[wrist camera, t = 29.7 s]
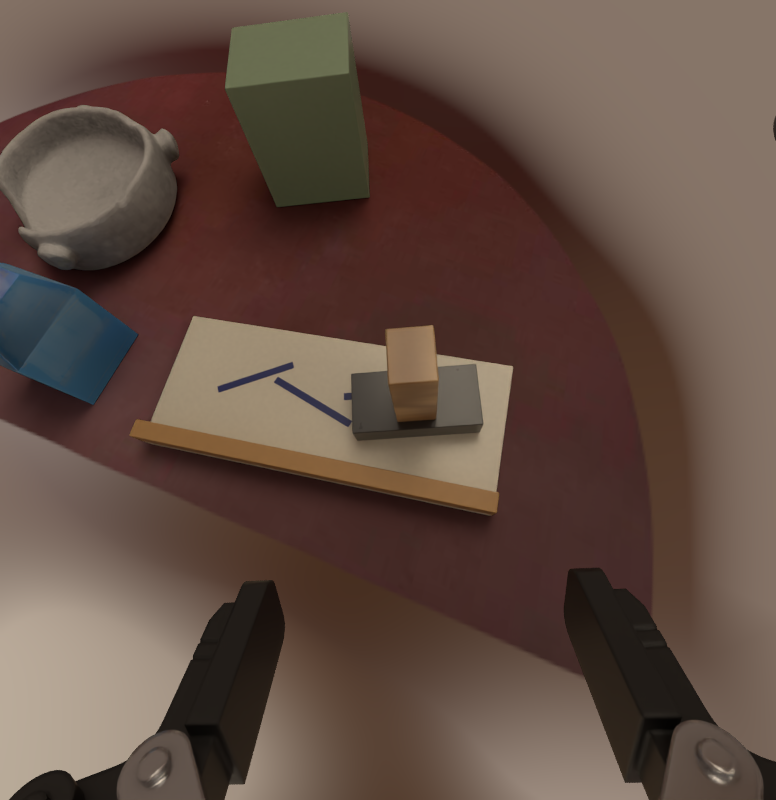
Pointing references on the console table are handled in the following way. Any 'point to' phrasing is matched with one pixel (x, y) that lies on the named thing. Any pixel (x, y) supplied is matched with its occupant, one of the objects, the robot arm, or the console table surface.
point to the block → (301, 107)
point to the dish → (89, 186)
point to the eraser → (415, 392)
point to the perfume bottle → (58, 334)
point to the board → (318, 415)
